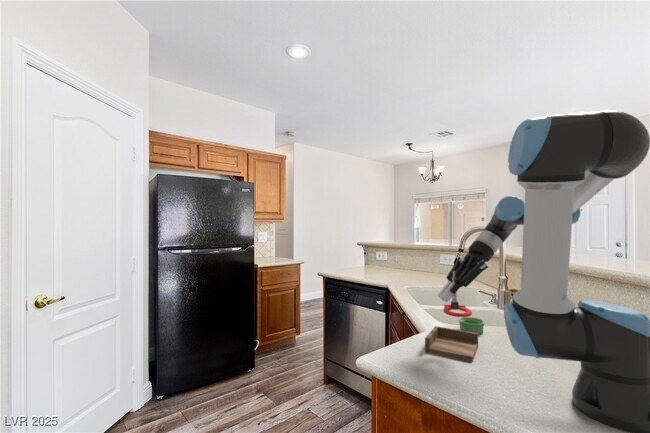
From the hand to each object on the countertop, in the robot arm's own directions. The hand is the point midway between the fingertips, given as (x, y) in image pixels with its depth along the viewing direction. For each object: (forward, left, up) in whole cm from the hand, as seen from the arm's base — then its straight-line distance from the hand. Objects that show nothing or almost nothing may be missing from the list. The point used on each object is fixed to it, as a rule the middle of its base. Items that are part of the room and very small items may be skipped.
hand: (442, 298), depth 102 cm
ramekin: (+24, -5, -17) cm, 30 cm away
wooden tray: (+3, -2, -17) cm, 17 cm away
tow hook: (0, -4, -4) cm, 6 cm away
